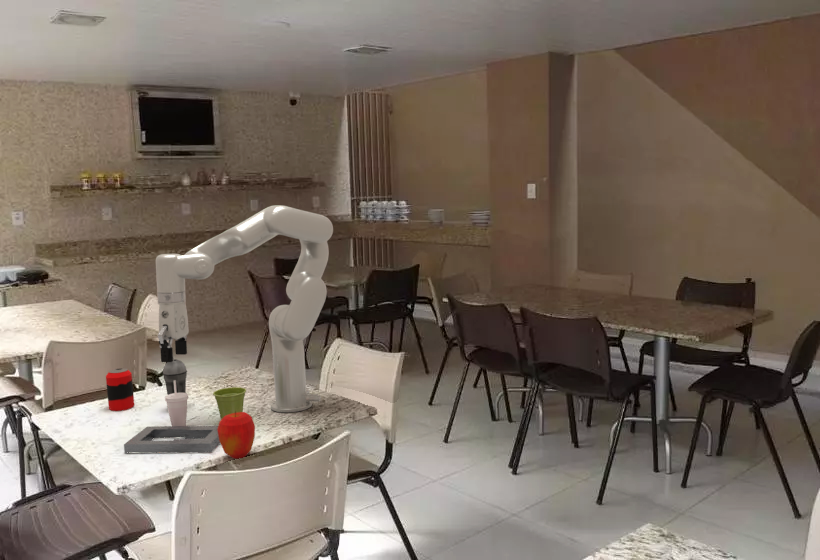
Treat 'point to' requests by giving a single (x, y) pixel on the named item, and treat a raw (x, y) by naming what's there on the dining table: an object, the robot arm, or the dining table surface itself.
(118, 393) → the soda can
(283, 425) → the dining table surface
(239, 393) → the plant pot
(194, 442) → the keyhole plate
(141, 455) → the dining table surface
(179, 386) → the beverage cup
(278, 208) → the robot arm
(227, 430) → the apple
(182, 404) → the smoothie
